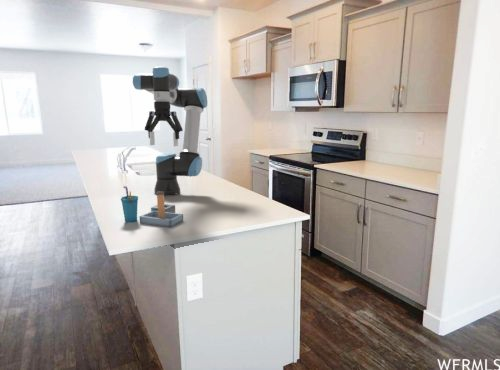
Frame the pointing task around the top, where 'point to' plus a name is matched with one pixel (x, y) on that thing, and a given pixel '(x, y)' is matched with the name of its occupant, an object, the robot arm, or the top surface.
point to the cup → (129, 207)
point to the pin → (161, 205)
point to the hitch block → (167, 208)
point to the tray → (153, 219)
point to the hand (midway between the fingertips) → (164, 145)
